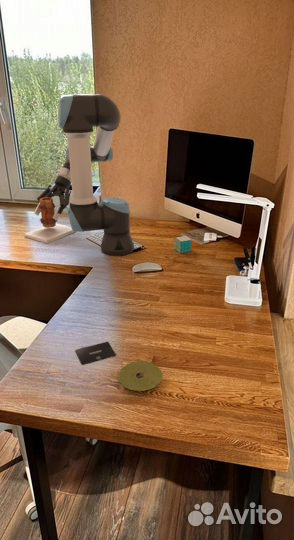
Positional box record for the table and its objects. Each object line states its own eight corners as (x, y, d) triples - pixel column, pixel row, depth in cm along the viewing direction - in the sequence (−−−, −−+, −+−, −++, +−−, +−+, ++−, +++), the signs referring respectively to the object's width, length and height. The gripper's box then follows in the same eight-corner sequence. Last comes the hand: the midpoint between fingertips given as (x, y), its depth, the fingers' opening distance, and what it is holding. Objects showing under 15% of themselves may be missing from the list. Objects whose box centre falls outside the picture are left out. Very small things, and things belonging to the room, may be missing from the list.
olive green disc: (170, 384, 102) (171, 378, 101) (134, 403, 96) (134, 397, 95) (145, 361, 110) (145, 355, 109) (110, 377, 104) (110, 371, 103)
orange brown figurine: (39, 224, 203) (36, 195, 196) (55, 222, 206) (52, 193, 199) (44, 234, 191) (40, 203, 184) (61, 231, 193) (58, 201, 187)
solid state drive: (116, 356, 113) (116, 354, 112) (81, 366, 109) (81, 364, 109) (108, 343, 118) (108, 341, 118) (75, 351, 115) (75, 349, 114)
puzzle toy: (180, 253, 177) (180, 241, 175) (174, 249, 182) (174, 237, 179) (191, 251, 179) (192, 239, 177) (185, 247, 184) (185, 235, 181)
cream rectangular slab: (76, 231, 203) (76, 228, 202) (47, 243, 188) (46, 240, 187) (54, 225, 211) (54, 222, 210) (24, 236, 196) (24, 233, 196)
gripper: (87, 187, 195) (67, 225, 190) (52, 180, 208) (33, 216, 203) (78, 178, 189) (58, 217, 184) (43, 172, 201) (23, 208, 197)
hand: (45, 216), depth 194 cm, fingers closed on orange brown figurine, 12 cm apart
